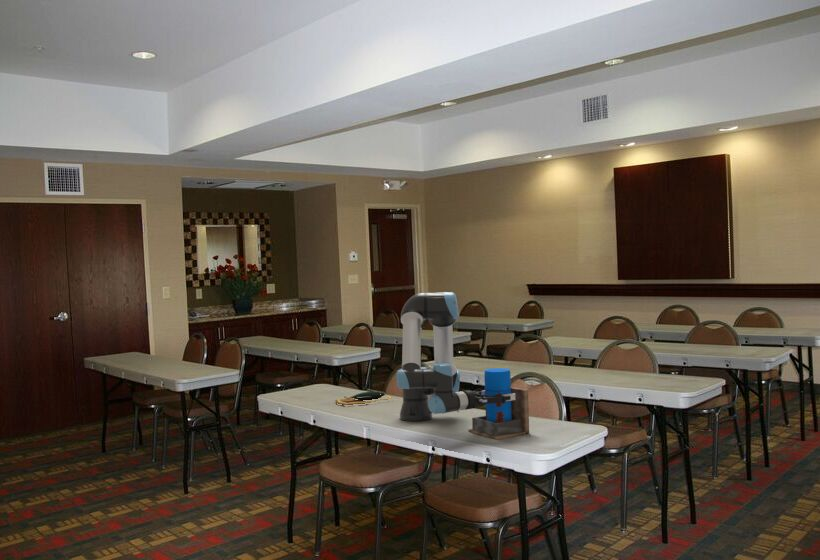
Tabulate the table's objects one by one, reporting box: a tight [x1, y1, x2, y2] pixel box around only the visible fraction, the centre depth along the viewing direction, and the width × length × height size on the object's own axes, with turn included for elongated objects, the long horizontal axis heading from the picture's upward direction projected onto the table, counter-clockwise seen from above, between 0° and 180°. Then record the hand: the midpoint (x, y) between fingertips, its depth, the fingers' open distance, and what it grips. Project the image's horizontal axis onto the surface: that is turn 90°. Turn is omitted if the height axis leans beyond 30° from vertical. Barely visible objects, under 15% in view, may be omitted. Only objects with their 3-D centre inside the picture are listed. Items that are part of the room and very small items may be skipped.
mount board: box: [467, 386, 530, 440], centre depth 294 cm, size 19×17×18 cm
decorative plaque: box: [335, 388, 393, 405], centre depth 377 cm, size 30×7×20 cm
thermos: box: [483, 367, 512, 423], centre depth 294 cm, size 11×11×25 cm
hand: (504, 394), depth 296 cm, fingers open, 13 cm apart
